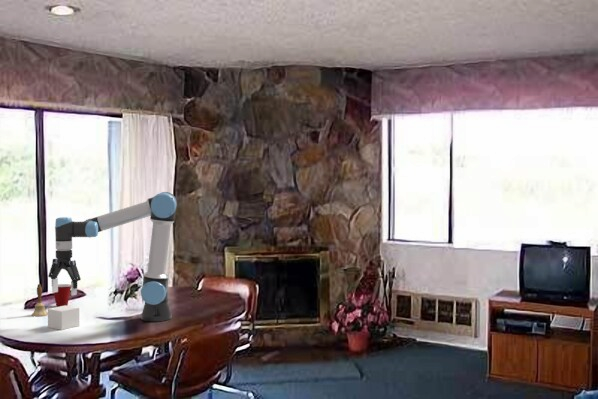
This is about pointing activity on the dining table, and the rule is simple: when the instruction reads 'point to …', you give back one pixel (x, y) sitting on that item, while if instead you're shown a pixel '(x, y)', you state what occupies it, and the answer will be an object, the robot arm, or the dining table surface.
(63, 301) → the plastic cup
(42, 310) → the hand bell
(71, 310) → the white box
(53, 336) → the dining table surface
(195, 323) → the dining table surface
